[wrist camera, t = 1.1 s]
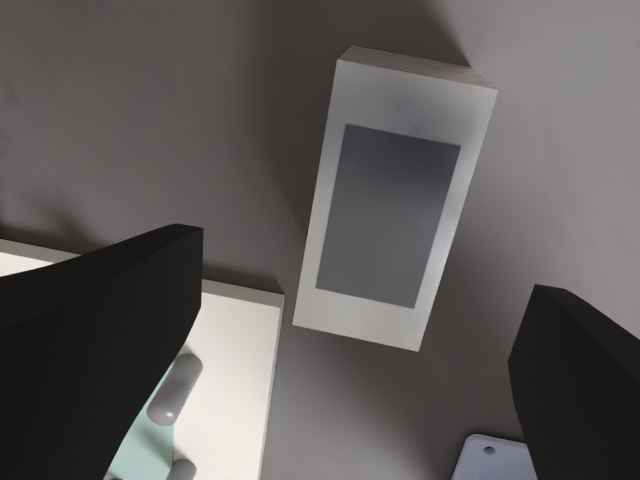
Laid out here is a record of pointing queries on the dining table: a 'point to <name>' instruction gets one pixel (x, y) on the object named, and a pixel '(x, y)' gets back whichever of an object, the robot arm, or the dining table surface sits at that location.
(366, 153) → the block
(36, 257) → the dock
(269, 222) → the dining table surface
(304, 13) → the dining table surface
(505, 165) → the dining table surface
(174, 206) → the dining table surface
